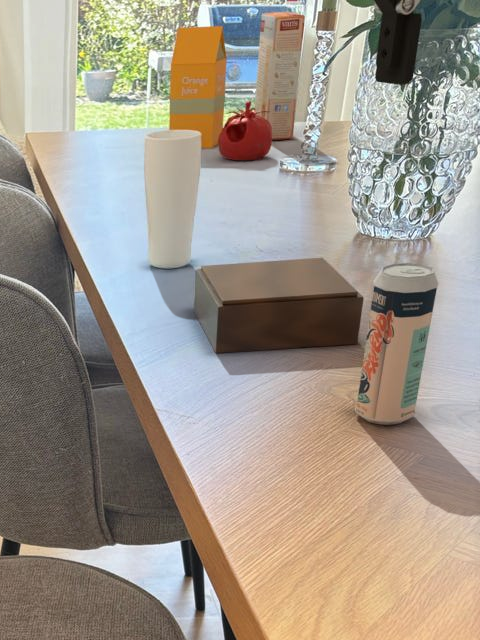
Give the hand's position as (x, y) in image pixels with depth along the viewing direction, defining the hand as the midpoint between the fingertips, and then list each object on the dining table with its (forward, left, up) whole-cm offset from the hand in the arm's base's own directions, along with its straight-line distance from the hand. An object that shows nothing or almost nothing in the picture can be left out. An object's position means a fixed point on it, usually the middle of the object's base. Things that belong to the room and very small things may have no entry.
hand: (453, 75), depth 68 cm
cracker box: (-22, -144, -25) cm, 148 cm away
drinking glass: (+11, -53, -25) cm, 60 cm away
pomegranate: (-12, -122, -25) cm, 125 cm away
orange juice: (-6, -140, -26) cm, 143 cm away
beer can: (0, -1, -25) cm, 25 cm away
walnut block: (+4, -26, -25) cm, 37 cm away
